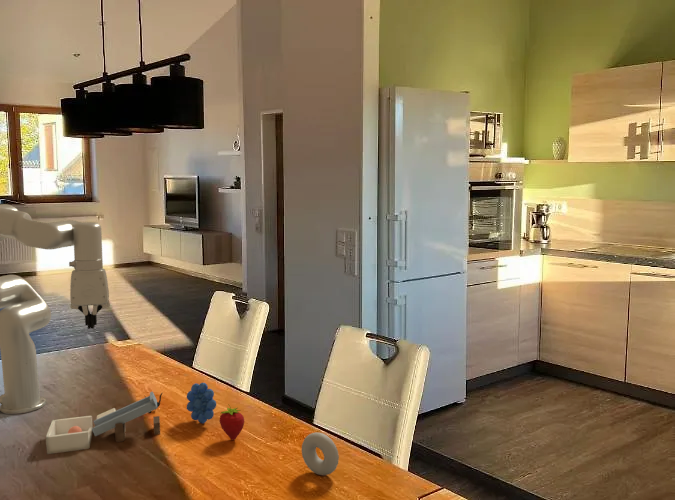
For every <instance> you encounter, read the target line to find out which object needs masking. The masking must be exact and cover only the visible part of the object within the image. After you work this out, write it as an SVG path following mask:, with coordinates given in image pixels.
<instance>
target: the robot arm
mask: <svg viewBox="0 0 675 500" xmlns="http://www.w3.org/2000/svg"><path fill="white" fill-rule="evenodd" d="M102 234H103V233H102V226H101V224H100V223H99V222H94V221H93V222H92V221H85V222H84V221H83V222H82V221H77V220H71V219H68V220H58V221H52V222H42V221H37V220H36V221H35V220H33V219H32V216H31V215H30V214H29V212H25V211H21V210H19V209H17V207H15V206H14V205H11V204H6V203H3V204H0V244H1V243H2V242H3V241H5V240H6V239H10V240H16V241H17V242H19V243H20V244H22V245H23V246H27V247H31V248H37V249H40V250H42V249H43V250H56V249H62V248H67V247H72V246H73V254H74V255H73V256H74V258H73V259H74V260H73V261H72V260H71V261H69V263H68V265H69V266H68V267H71V268H73V270H72V271H71V274H70V284H69V285H70V289H69V290H70V293H69V294H70V295H69V298H70V300H69V301H70V306H69V307H70V309H74V310H79V312H81V313H82V314H83V315H84V323H85V326H87V330H89V329H95V326H97V325H98V322H97V321H98V317H97V316H98V315H97V314H98V313H99V312H100V311H101V310H102V309H106V308H110V306H111V302H110V299H109V298H110V292H109V282H108V275H107V271H106V269H105V268H103V266H104V265H103V264H104V263H103V262H104V261H103V243H102V242H103V241H102V239H103V238H102V237H103V236H102ZM89 306H92V311H90V308H89ZM0 309H1V310H0V359H1V369H2V370H1V371H2V379H3V389H4V393H3V394H1V395H0V412H1V413H3V414H8V415H10V414H11V415H15V414H16V415H17V414H25V413H29V412H33V411H36V410H39V409H41V408H42V407H44V406H45V405H46V403H47V402H46V401H47V400H46V398H45V397H43V396H40V395H41V393H40V383H39V373H38V372H39V370H38V358H37V350H36V349H37V348H36V345H35V342H34V341H33V339H32V337H31V335H30V333H32V332H36V331H39V330H40V329H42V328H44V327H47V326H48V324H50V322H51V319H52V312H51V311H52V310H51V308H50V306H49V305H48V304H47V302H46V301H45V300H44V299H43V297H41V295H40V294H39V293H38V292H37V291H36V290H35V289H34V288H33V287H32V285H31V284H30V283H29V282H28V281H27V280H26V279H24V278H23V277H22V276H20V275H16V274H7V275H5V274H4V275H2V276H0Z"/></svg>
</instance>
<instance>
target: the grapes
mask: <svg viewBox="0 0 675 500" xmlns="http://www.w3.org/2000/svg"><path fill="white" fill-rule="evenodd" d="M214 395H215V392H214V390H213V389H212V388H209V386H208V384H207V383H206V382H201V383H196V382H195V383H193V384H192V386H191V388H190V390H189V391H188V392H187V394H186V399H187V401H188V402H187V404H186V411H189V412H191V414H190V417H191V419H192V420H194V421H198V422H199V424H202V425H203V424H205V423H206V422H207V421H208V420H212V419H213V418H214V415H215V413H214V410H215V409H216V408H217V402H216V399H214Z"/></svg>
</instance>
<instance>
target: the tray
mask: <svg viewBox="0 0 675 500" xmlns="http://www.w3.org/2000/svg"><path fill="white" fill-rule="evenodd" d="M73 426H78V427H80V428H81V429H82V432H77V433H69V434H68V431H69V429H70V428H71V427H73ZM92 428H94V426H93V416H92V415H85V416H84V415H83V416H77V417H76V416H75V417H68V418H67V417H66V418H60V419H52V420H51V424H50V426H49V428H48V430H47V433H46V436H45V445H46V455H51V454H57V453H58V454H59V453H65V452H73V451H79V450H80V451H81V450H82V451H83V450H88V449H90V447H91V442H92V436H93V434H94V433H93V431H92Z"/></svg>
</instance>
